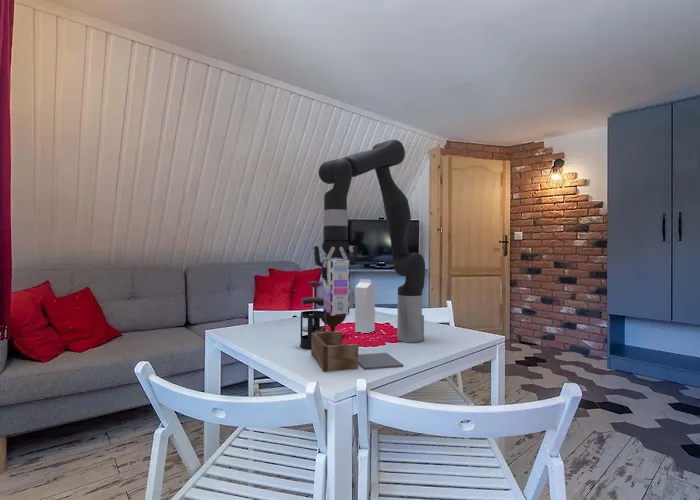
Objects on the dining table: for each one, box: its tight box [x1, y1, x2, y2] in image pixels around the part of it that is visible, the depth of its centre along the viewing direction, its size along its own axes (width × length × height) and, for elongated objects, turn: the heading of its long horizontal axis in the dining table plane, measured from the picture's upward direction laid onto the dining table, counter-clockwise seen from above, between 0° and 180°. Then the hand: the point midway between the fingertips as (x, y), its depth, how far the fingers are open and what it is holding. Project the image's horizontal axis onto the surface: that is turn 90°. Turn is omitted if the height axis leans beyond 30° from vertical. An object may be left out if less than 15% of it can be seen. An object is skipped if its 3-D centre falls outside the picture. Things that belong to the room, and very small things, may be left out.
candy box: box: [322, 258, 350, 316], centre depth 122 cm, size 14×6×16 cm, turn 13°
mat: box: [358, 352, 404, 371], centre depth 121 cm, size 12×14×1 cm
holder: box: [310, 330, 359, 373], centre depth 122 cm, size 10×19×7 cm, turn 16°
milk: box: [354, 278, 376, 334], centre depth 164 cm, size 6×6×22 cm
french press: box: [299, 280, 327, 351], centre depth 140 cm, size 12×9×23 cm
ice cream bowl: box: [320, 308, 347, 332], centre depth 156 cm, size 11×11×15 cm
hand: (335, 279), depth 122 cm, fingers closed on candy box, 6 cm apart
